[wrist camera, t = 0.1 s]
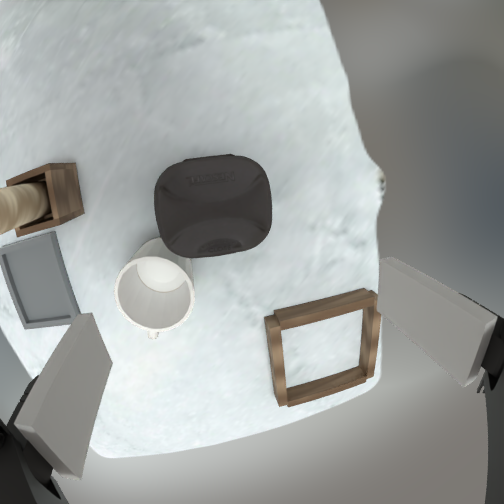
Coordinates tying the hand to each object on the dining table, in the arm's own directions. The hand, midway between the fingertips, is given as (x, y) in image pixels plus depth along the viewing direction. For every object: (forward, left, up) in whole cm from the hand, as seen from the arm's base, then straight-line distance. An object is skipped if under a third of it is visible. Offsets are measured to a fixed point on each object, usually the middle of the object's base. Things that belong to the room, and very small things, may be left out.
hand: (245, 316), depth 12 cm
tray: (+5, -29, -28) cm, 41 cm away
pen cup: (-7, -21, -28) cm, 36 cm away
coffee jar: (-3, 0, -28) cm, 28 cm away
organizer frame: (+26, +15, -28) cm, 41 cm away
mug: (+7, -8, -28) cm, 30 cm away
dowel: (-7, -21, -27) cm, 35 cm away
